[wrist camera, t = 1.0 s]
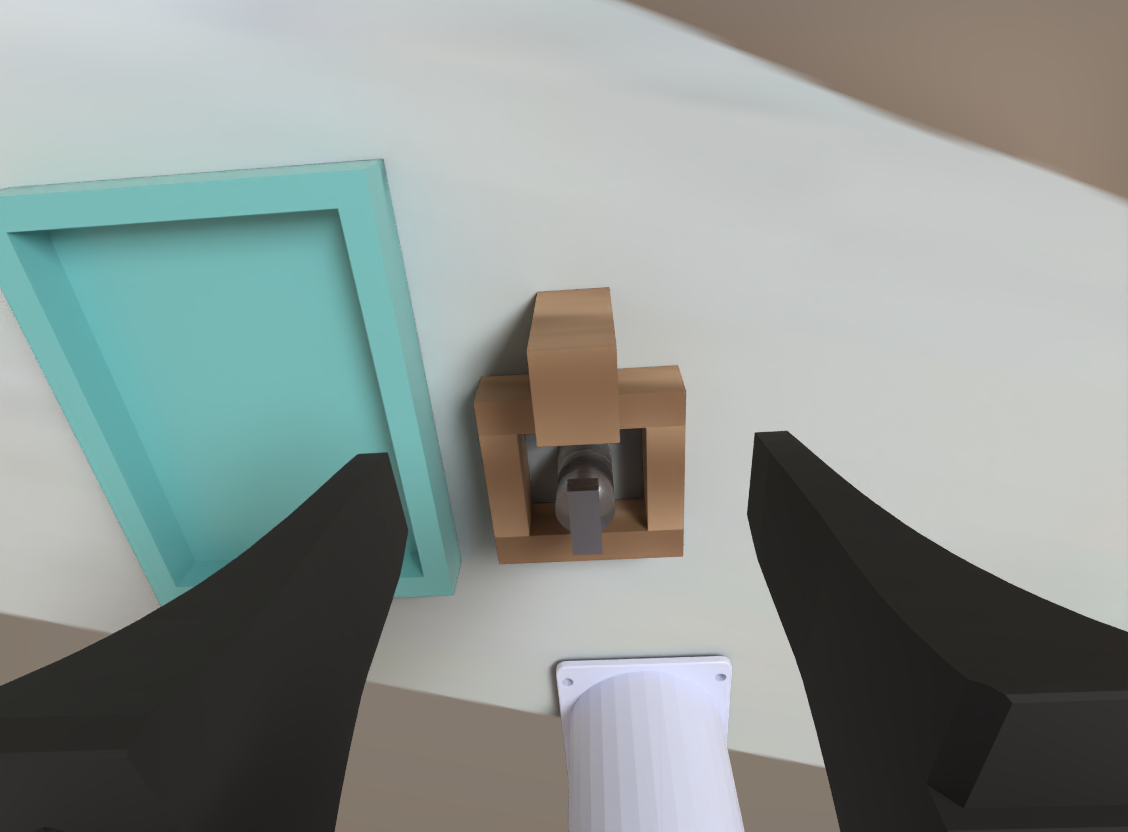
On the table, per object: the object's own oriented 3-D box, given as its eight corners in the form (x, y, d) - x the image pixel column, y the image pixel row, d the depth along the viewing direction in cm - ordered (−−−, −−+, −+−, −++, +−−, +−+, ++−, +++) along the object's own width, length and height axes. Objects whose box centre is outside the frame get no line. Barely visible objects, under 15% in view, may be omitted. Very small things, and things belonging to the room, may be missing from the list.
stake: (612, 481, 26) (617, 553, 22) (560, 483, 26) (557, 555, 22) (609, 423, 24) (614, 489, 21) (555, 426, 24) (551, 492, 21)
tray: (461, 561, 28) (453, 595, 26) (187, 572, 28) (161, 606, 27) (383, 158, 20) (364, 169, 18) (8, 187, 21) (-44, 199, 19)
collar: (676, 523, 27) (695, 616, 22) (504, 530, 27) (489, 623, 23) (679, 282, 22) (703, 341, 17) (469, 296, 22) (441, 357, 18)
